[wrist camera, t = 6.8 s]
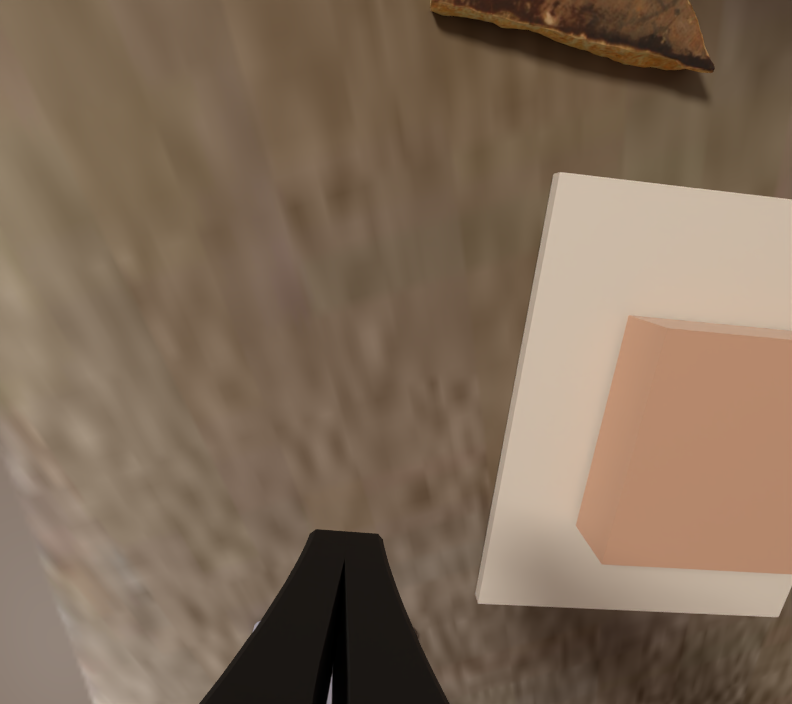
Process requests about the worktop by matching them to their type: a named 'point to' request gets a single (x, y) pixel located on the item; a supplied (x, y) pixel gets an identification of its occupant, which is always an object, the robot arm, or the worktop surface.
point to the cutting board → (593, 372)
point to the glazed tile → (695, 450)
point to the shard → (602, 27)
